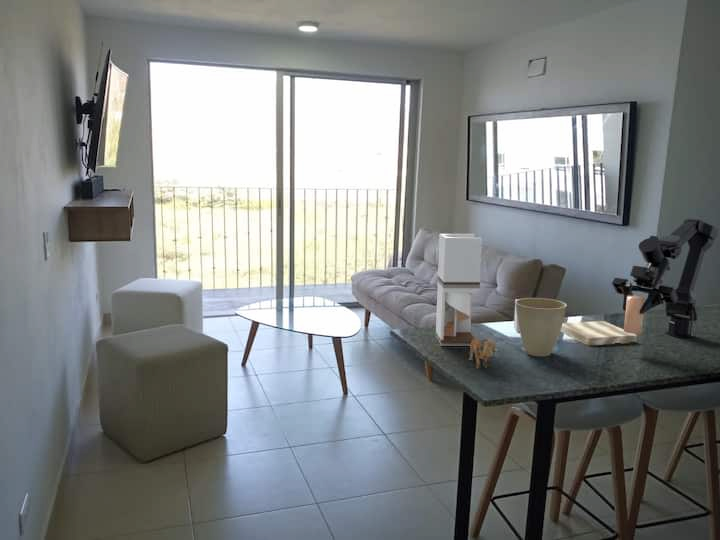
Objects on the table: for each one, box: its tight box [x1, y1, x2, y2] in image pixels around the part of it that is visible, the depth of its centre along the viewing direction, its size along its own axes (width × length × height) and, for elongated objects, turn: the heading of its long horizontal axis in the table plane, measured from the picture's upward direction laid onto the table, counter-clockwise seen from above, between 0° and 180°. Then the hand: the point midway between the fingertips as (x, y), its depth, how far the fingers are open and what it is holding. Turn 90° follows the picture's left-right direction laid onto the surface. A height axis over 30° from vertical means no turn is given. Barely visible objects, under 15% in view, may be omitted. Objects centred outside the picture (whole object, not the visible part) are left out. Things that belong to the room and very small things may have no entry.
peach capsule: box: [623, 294, 646, 335], centre depth 179 cm, size 5×5×11 cm
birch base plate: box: [560, 320, 638, 346], centre depth 198 cm, size 18×18×2 cm
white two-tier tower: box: [435, 233, 483, 347], centre depth 187 cm, size 11×11×35 cm
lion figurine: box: [467, 337, 499, 368], centre depth 169 cm, size 15×5×9 cm, turn 16°
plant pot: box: [516, 297, 567, 358], centre depth 178 cm, size 15×15×16 cm
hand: (632, 311), depth 178 cm, fingers closed on peach capsule, 5 cm apart
